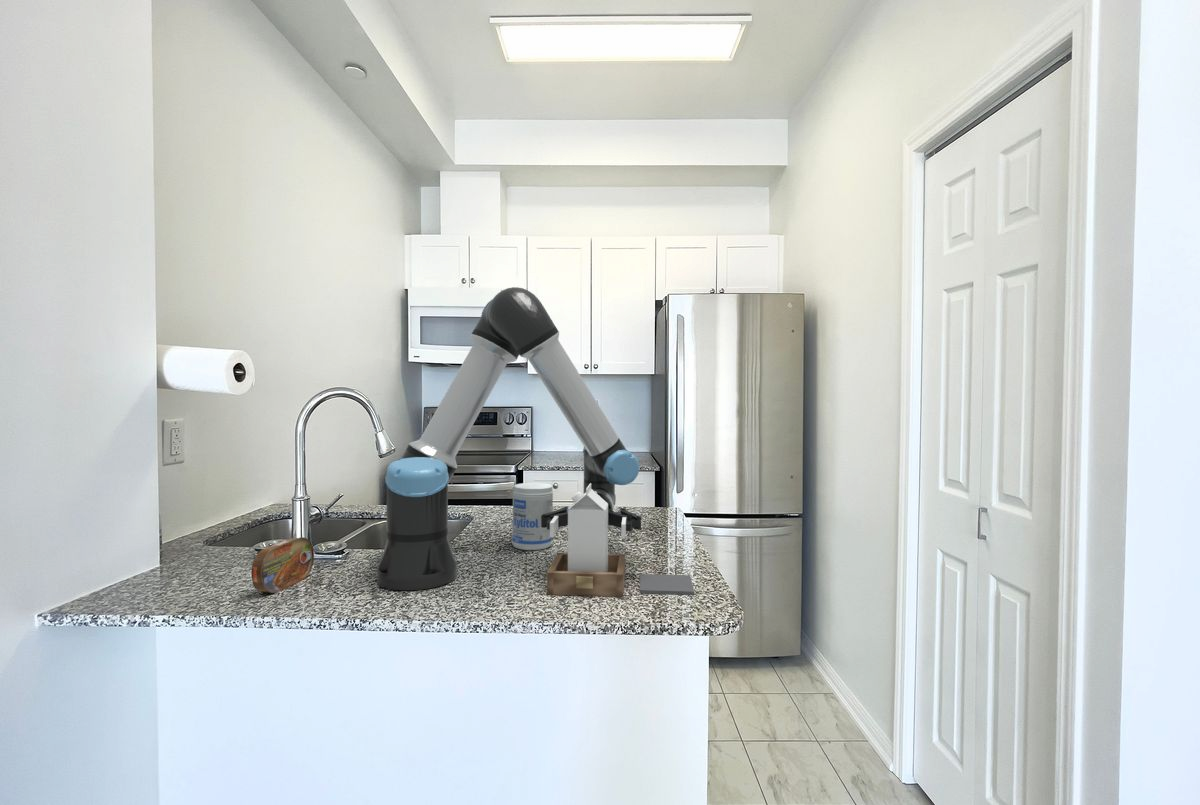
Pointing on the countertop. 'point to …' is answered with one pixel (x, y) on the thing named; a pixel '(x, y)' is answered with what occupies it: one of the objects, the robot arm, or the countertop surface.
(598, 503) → the milk carton
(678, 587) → the rubber mat
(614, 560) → the wooden square frame
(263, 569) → the tin
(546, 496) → the supplement tub
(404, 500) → the robot arm
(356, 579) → the countertop surface
